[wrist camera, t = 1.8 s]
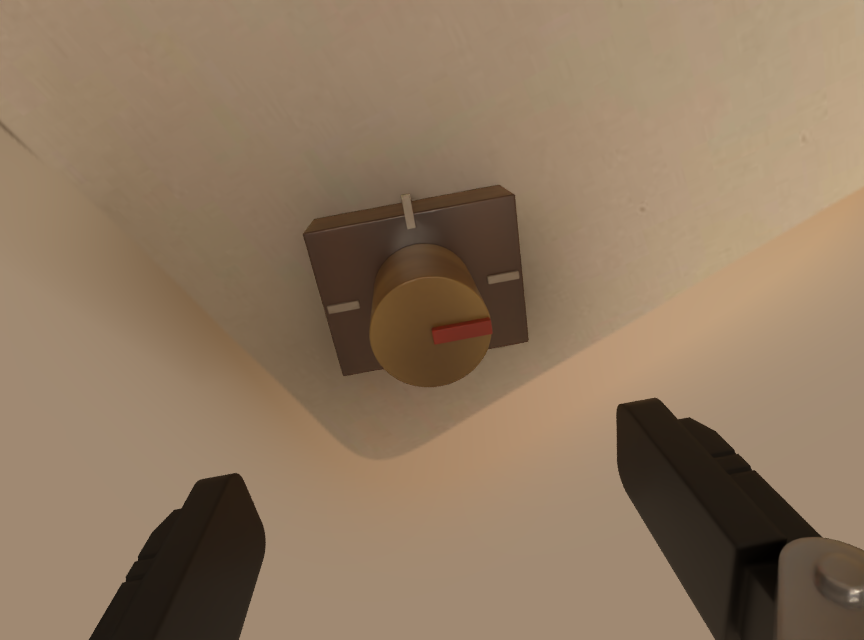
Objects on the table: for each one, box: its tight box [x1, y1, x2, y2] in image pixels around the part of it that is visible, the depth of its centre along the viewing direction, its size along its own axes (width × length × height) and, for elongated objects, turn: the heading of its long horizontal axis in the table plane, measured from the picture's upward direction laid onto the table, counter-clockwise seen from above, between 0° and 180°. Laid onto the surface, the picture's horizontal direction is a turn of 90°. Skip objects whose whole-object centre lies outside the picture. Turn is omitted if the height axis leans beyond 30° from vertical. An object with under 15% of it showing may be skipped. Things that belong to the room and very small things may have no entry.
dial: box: [369, 244, 493, 387], centre depth 19 cm, size 4×4×5 cm
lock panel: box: [303, 185, 529, 376], centre depth 22 cm, size 9×9×3 cm
